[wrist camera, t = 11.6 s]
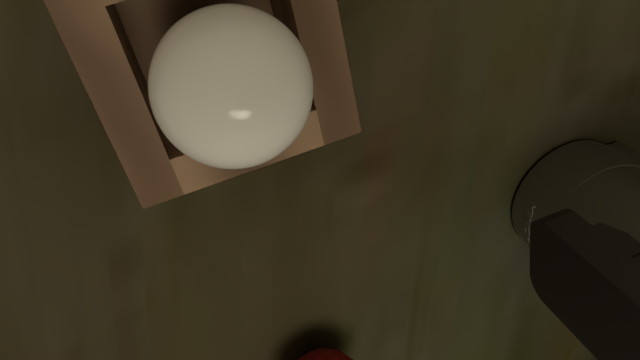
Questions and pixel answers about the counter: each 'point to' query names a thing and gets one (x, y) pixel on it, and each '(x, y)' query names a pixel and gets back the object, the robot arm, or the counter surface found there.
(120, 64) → the socket block
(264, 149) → the lightbulb
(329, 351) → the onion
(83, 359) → the counter surface
